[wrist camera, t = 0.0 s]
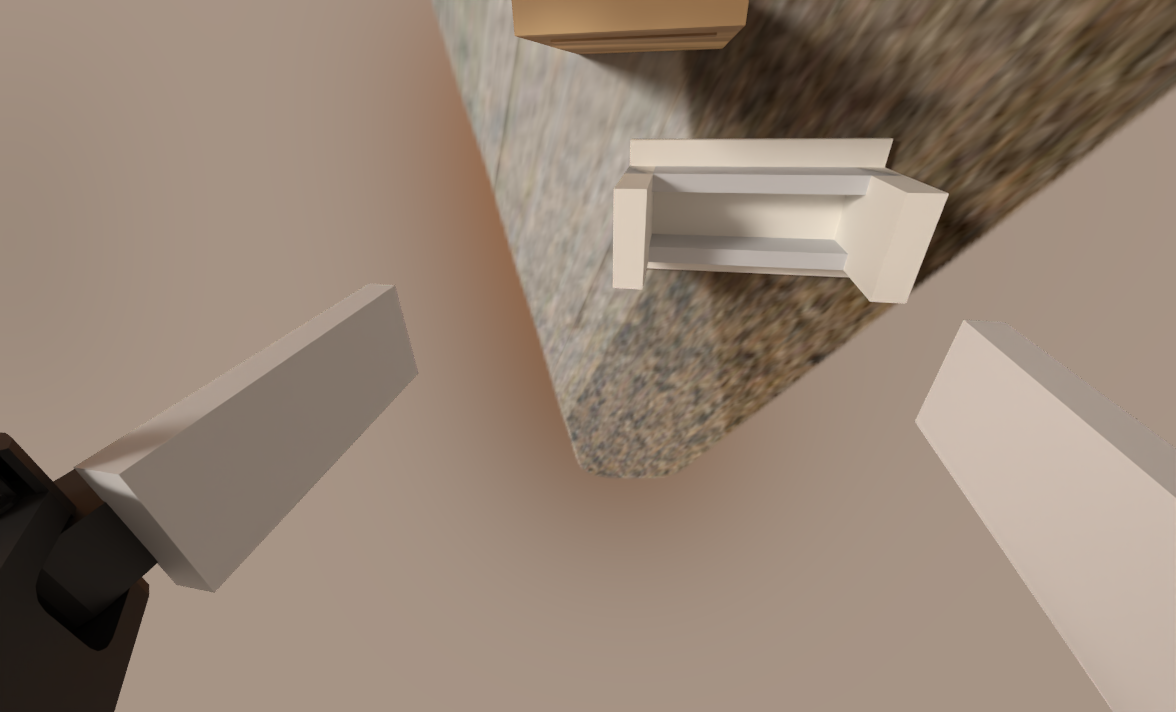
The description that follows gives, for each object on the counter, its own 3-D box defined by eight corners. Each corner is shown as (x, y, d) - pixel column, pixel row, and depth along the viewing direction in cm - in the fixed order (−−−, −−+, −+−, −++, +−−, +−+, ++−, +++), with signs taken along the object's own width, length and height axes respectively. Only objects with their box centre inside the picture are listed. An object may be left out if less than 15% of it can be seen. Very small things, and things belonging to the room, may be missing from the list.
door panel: (576, -1, 30) (506, -57, 18) (728, -11, 28) (759, -78, 16) (578, 55, 32) (515, 38, 20) (722, 50, 30) (744, 28, 18)
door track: (631, 139, 34) (614, 156, 25) (888, 137, 31) (963, 156, 22) (627, 264, 39) (612, 311, 31) (847, 273, 36) (895, 329, 28)
